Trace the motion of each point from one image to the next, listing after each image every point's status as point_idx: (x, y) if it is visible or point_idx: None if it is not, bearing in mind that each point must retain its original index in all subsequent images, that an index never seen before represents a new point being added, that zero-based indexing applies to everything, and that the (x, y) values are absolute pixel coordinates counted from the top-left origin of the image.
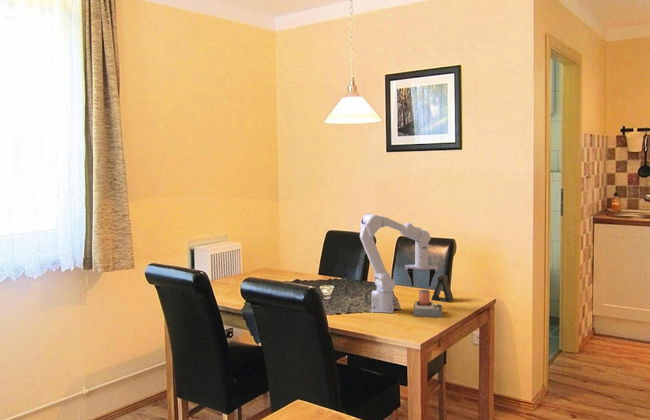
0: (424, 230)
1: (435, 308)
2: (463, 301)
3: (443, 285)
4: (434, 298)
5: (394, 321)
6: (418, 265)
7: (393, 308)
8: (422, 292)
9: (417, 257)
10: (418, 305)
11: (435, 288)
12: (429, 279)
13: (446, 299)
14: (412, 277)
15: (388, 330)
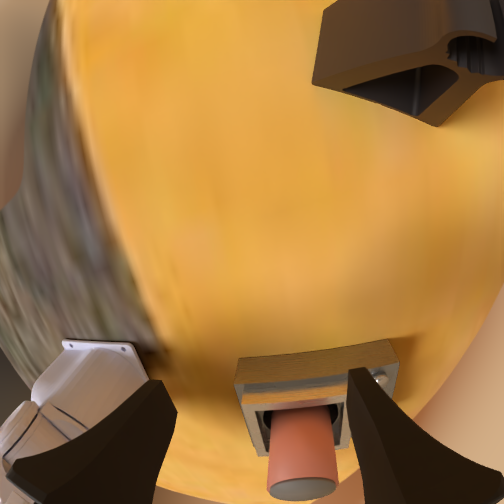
0: None
1: None
2: (487, 97)
3: (466, 88)
4: (338, 86)
5: (206, 458)
6: None
7: (140, 367)
8: (291, 498)
9: None
10: None
11: (371, 63)
12: (366, 452)
13: (425, 117)
14: (149, 492)
15: (217, 490)
